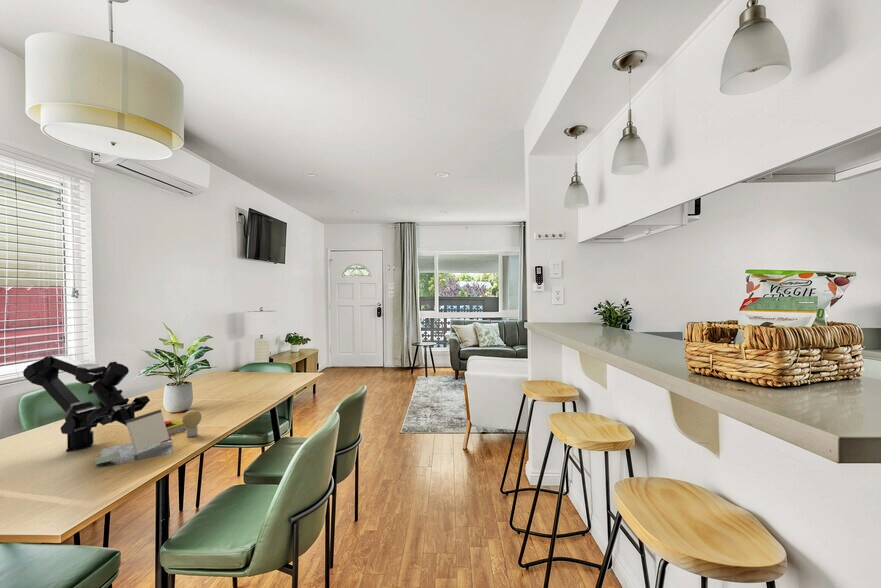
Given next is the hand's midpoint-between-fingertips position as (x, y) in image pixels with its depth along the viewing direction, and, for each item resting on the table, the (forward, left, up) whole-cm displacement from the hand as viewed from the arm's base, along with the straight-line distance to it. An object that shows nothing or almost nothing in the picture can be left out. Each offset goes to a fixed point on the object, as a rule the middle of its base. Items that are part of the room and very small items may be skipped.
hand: (133, 427), depth 140 cm
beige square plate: (+5, -6, -6) cm, 10 cm away
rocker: (-6, -9, -8) cm, 13 cm away
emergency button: (+11, +19, -9) cm, 24 cm away
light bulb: (+18, +7, -9) cm, 21 cm away
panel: (+1, -2, -9) cm, 9 cm away
